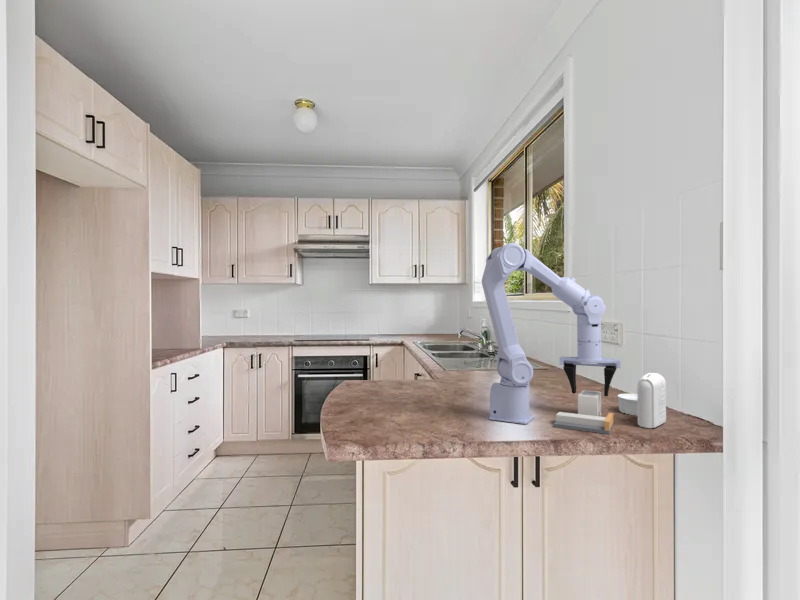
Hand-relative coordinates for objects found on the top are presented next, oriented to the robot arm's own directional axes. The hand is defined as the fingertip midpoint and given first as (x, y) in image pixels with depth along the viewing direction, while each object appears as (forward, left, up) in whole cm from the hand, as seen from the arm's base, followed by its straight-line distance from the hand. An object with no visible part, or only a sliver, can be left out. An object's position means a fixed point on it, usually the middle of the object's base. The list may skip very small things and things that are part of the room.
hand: (589, 394), depth 115 cm
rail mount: (0, -10, -6) cm, 12 cm away
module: (0, 0, -6) cm, 6 cm away
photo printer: (+14, 0, -6) cm, 15 cm away
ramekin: (+10, +11, -6) cm, 16 cm away
